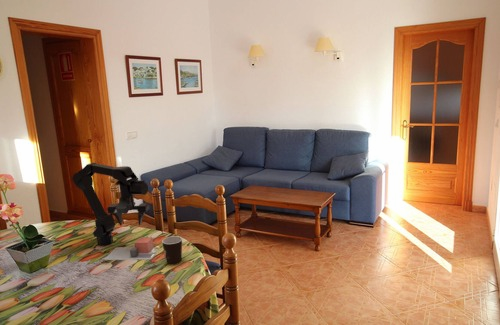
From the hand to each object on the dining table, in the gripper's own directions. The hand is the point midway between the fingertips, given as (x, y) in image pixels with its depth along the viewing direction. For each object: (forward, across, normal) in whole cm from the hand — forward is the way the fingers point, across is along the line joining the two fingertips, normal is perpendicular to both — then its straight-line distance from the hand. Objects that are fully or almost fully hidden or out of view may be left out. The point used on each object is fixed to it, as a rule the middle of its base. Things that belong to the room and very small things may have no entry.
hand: (130, 225), depth 180 cm
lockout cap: (+11, +7, -5) cm, 14 cm away
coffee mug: (+12, +24, -12) cm, 29 cm away
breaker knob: (+10, +5, -10) cm, 16 cm away
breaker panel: (+12, +3, -8) cm, 14 cm away
